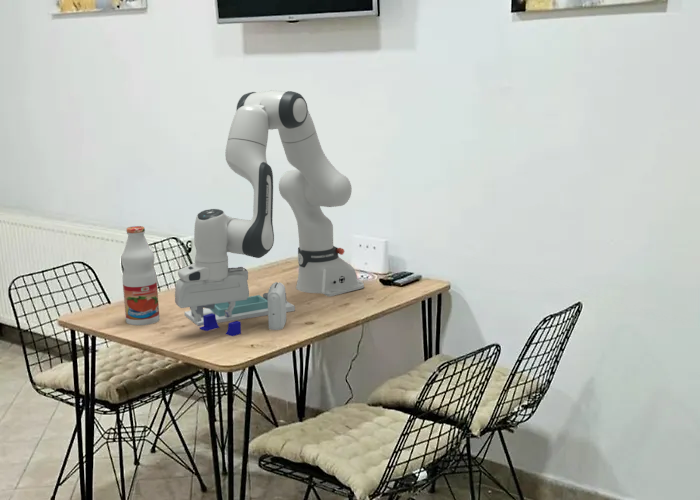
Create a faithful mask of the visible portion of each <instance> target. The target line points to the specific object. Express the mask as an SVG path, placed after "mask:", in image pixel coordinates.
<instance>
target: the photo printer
mask: <svg viewBox="0 0 700 500" xmlns="http://www.w3.org/2000/svg"><path fill="white" fill-rule="evenodd" d="M267 291H268V292H267V293H268V296H267V299H268V315H267V316H268V317H267V318H268V330H271V331H279V330H280V331H281V330H283V328H284V327H285V325H286V322H287V312H286V301H287V295H286V296H285V293H286V286H285V285H284V284H283V283H282V282H280V281H279V282H277V281H275V282H273V283H272V284H271V285H270V287H269V288H268V290H267Z"/></svg>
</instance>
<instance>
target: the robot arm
mask: <svg viewBox="0 0 700 500" xmlns="http://www.w3.org/2000/svg"><path fill="white" fill-rule="evenodd" d="M308 108H309V107H308V103H307V101H306V100H305V98H304V96H303V95H302V94H301V93H299V92H296V91H290V90H288V91H285V90H284V91H283V90H267V91H266V90H265V91H258V92H256V91H251V92H247V93H245V94H243V95H241V97H240V98H239V100H238V102H237V104H236V109H235V114H234V115H233V116H234V117H233V119H232V122H231V125H230V128H229V131H228V135H227V140H226V146H225V161H226V163H227V165H228V167H229V168H230V169H231V171H233V172H234V173H235V174H237V175H239V176H240V177H242V178H243V179H245V180H247V181H248V182H249V183H250V184H251V186H252V188H253V206H252V207H253V209H252V210H253V211H252V212H253V214H252V215H253V216H252V217H251V219H243V218H242V219H240V218H238V217H237V218H234V217H232V216H228V215H226V214H225V211H223V210H222V209H219V208H210V209H205V210H202V211H200V212H199V213H197V215H196V217H195V220H194V221H195V223H194V230H193V231H194V235H193V237H194V238H193V239H194V246H195V251H196V252H195V257H194V262H192V264H191V263H190V264H189V265H187V266H184V267H182V268H180V269H179V270H178V271H177V275H178V276H177V277H179V279H178V280H177V281H176V283H175V290H174V303H175V305H176V306H177V307H179V308H181V309H185V308H189V311H192V313H193V314H194V320H195V322H199V321H201V315H200V314H197V313H196V311H195V310H197V306H202V305H210V304H218V303H226V302H228V304H230V305H229V307H228V309H227V310H224V312H225V317H226V318H228V317H232V310H233V309H234V307H235V301H241V300H247V298H248V297H250V290H249V283H248V280H249V272H248V269H247V268H245V267H243V266H238V267H229V255H228V253H230V254H236V255H244V256H247V257H252V258H256V259H260V258H263V257H264V256H266V255H267V254H268V253H269V252H270V251H271V250H272V248H273V246H274V243H275V233H274V225H273V211H274V210H273V209H274V208H273V207H274V198H273V197H274V174H273V170H272V167H271V166H270V165H269V164H268V161H267V152H266V151H267V147H268V139H269V130H270V131H272V130H277V131H278V134H279V138H280V141H281V144H282V148H283V151H284V155H285V156H286V160H287V162H288V163H289V165H290V166H292V167H294V168H295V169H292V170H287V171H285V172H284V173H283V174H282V175H281V177H280V179H279V182H278V191H279V194H280V196H281V197H282V198H283V200H285V201H286V202H287V203H288V205H289V206H290V208H291V210H292V212H293V214H294V217H295V219H296V225H297V229H298V230H297V231H298V233H297V234H298V246H299V247H298V248H297V261H298V276H297V281H296V282H297V283H296V286H295V289H296V290H297V291H299V292H302V293H309V294H323V295H324V296H326V297H334V296H338V295H341V294H346V293H350V292H353V291H358V290H361V289H364V288H365V285H364V282H363V280H360V279H358V277H357V272H356V269H355V268H354V267H353V266H352V265H351V264H350V263H348V262H347V261H345V260H344V259H343V258H341V257H340V256H339V255H344V254H345V249H344V248H342V247H337V246H334V226H333V225H334V224H333V222H332V221H331V219H330V218H329V217H327V216H326V215H325V214H324V212H323V211H322V208H321V207H325V208H334V207H335V208H336V207H342V206H345V205H346V204H347V203H348V202H349V200H350V199H351V197H352V196H351V195H352V184H351V181H350V180H349V178H348V177H347V176H346V175H344V174H342V173H341V172H340V171H339V170H338V169H337V168H336V167H335V166H334V165H333V164H332V163H331V162H330V160H329V159H328V157H327V155H326V153H325V152H324V151H323V149H322V145H321V143H320V142H321V141H320V139H319V136H318V134H317V130H316V126H315V123H314V121H313V118H312V116H311V113H310V111H309V109H308Z"/></svg>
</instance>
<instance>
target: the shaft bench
mask: <svg viewBox="0 0 700 500" xmlns="http://www.w3.org/2000/svg"><path fill="white" fill-rule="evenodd" d="M267 296H268V292H265V293H263V294H262V296H261V295H260V294H257V295H251V296H250V295H249V297H248V298H247V300H241V301H235V307H234V309H233V310H232V317H228V318H226V317H225V312H224V310H227V309H228V307H229V305H230V304H228V302H226V303H218V304H210V305H202V306H197V310H195V311H196V313H197V314H200V315H201V321H199V322H195V320H194V314H193V313H192V311H191V310H188V311H183V313H184V317H186V318H187V319H188V320H190V321H191V322H192V323H194V324H195V325H196V326H197V327H202V326H204V320H203V316H205V315H208V314H211V313H212V314H215V317H216V321H217V324H220V323H227V322H234V321H239V320H244V319H245V320H247V319H253V318H258V317H259V318H260V317H266V316H268V299H267ZM285 296H286V297H287V292H285ZM295 310H296V307H295V305H294V304H292V303H291V302H289V301H288V300H286V313H290V312H295Z"/></svg>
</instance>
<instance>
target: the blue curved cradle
mask: <svg viewBox="0 0 700 500" xmlns="http://www.w3.org/2000/svg"><path fill="white" fill-rule="evenodd" d="M203 320H204V325H202V326H199V330H202V331H205V332H208V331H209V332H210V331H212V330H216V329H220V326H219V323H217V321H216V317H215V314H212V313H211V314H208V315H205V316H203ZM241 334H242V323H241V321H239V320H233V321H230V322H228V327H227V331H226V332H225V335H227V336H230V337H235V336H238V335H241Z"/></svg>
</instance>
